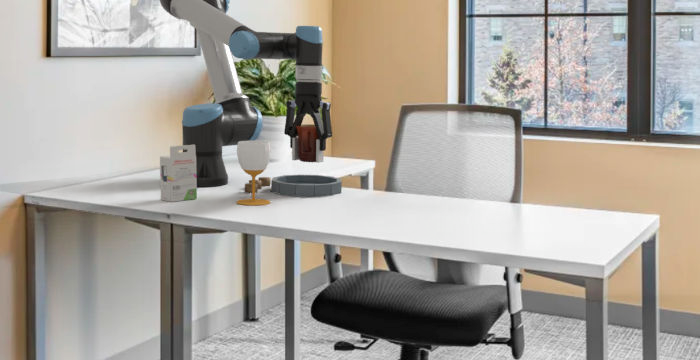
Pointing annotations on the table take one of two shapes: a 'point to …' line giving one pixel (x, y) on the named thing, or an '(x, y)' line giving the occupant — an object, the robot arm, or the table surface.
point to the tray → (306, 185)
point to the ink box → (178, 174)
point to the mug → (307, 142)
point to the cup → (253, 165)
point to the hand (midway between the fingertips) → (307, 160)
